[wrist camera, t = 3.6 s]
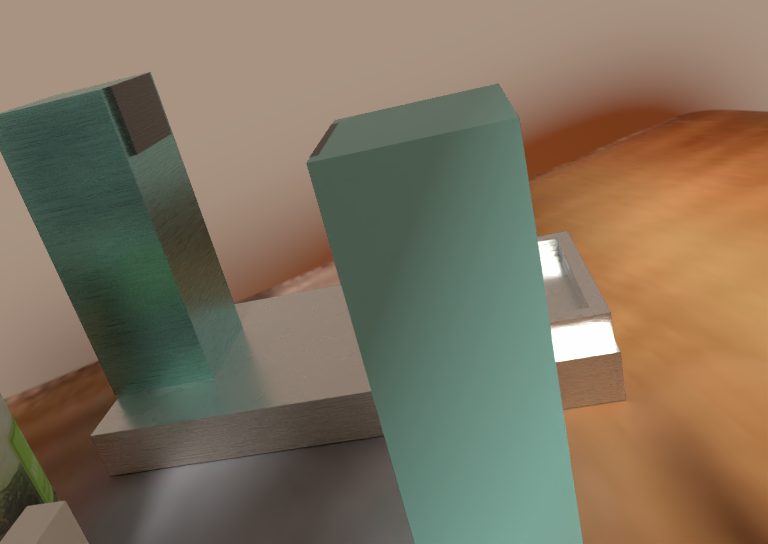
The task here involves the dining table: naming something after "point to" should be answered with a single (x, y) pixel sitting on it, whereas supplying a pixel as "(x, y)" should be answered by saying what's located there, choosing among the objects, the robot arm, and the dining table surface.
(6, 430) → the coffee can
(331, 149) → the mint green block
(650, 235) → the dining table surface
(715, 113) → the dining table surface
